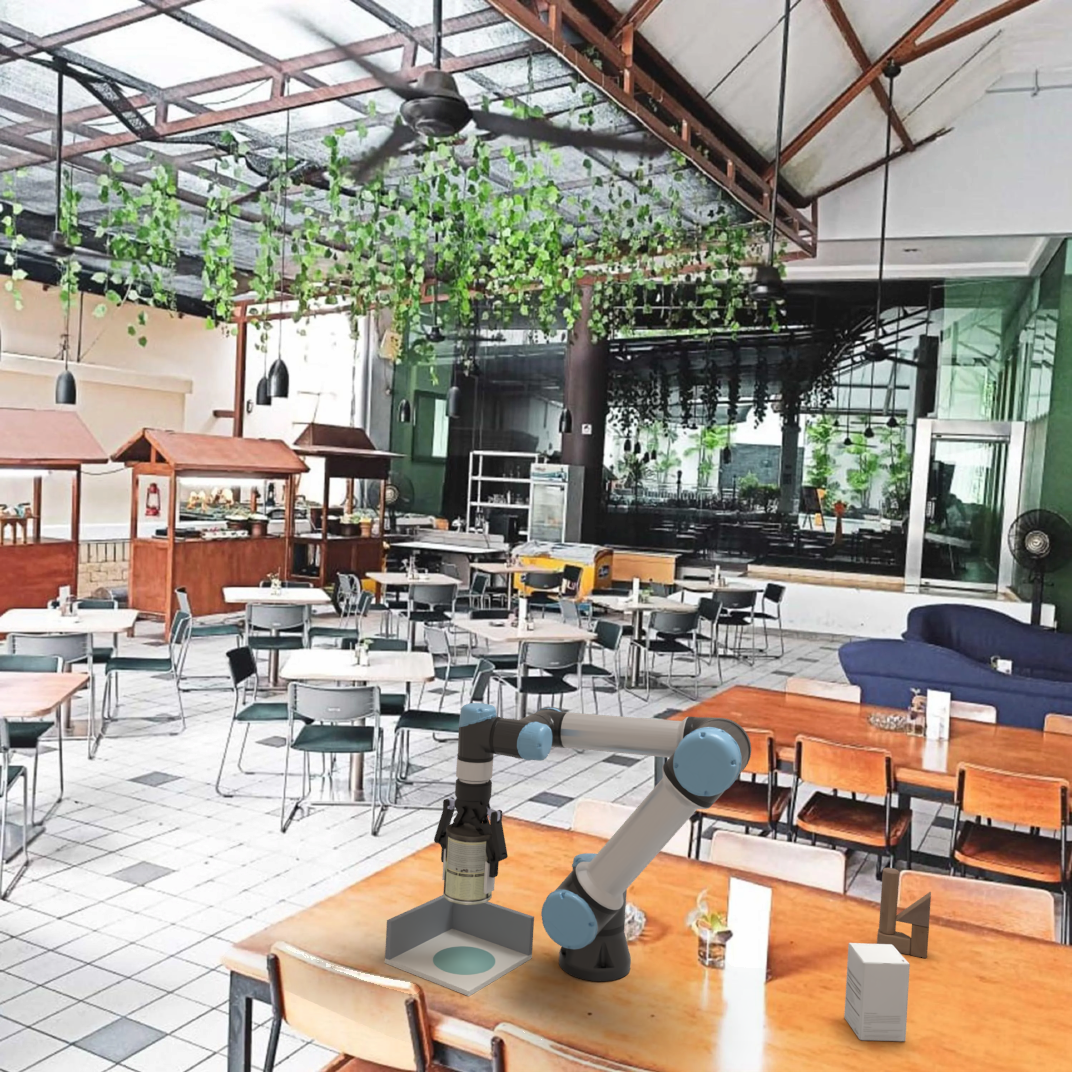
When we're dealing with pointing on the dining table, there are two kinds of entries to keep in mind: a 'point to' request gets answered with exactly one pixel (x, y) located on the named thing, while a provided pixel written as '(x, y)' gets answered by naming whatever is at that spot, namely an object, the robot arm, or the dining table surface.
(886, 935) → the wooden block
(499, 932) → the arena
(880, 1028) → the supplement box
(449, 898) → the coffee can
